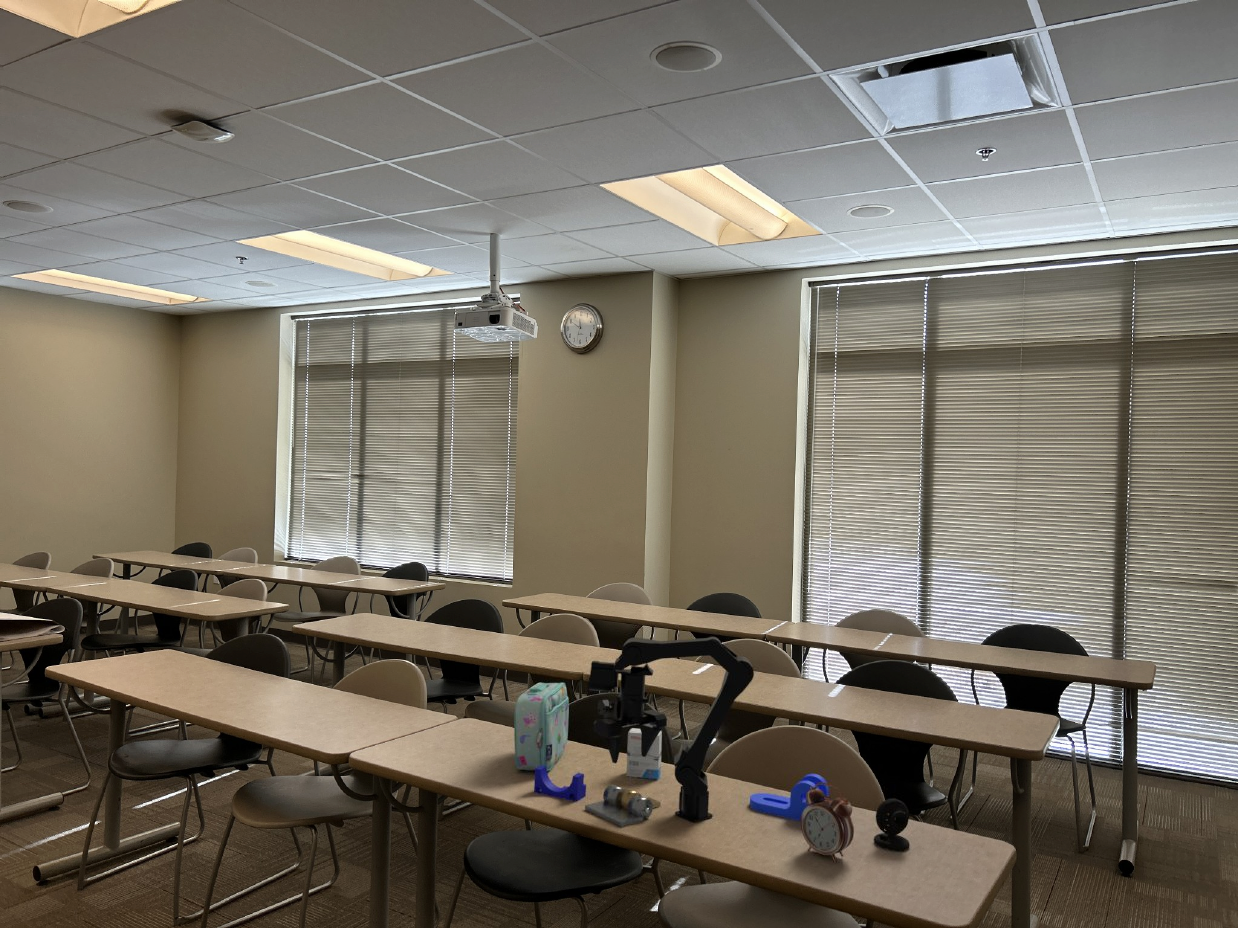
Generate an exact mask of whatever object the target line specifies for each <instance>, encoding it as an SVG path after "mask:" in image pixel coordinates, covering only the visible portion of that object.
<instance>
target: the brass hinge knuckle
mask: <svg viewBox="0 0 1238 928" xmlns="http://www.w3.org/2000/svg"><path fill="white" fill-rule="evenodd" d="M635 795H639V796H641V797H643V796H642V794H641V793H639V792H638V791H635V790H633V789H630V788H628V787H627V788H626V787H625V788H624V787H623V788H622V790H621V791H620V792H619V794H618V797H617V803H618V805H619V806H621V807H623V808H625V809H627V810H628V803H629V801H630V799H631V798H632V797H633V796H635ZM645 798H646V799H648V800H650V801H651V802H652V805H653V809H655V807H656V808H659V806H660V807H661V801H659V800H656V799H655V798H652V797H651V796H649V797H645Z"/></svg>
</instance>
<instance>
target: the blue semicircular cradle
mask: <svg viewBox="0 0 1238 928" xmlns="http://www.w3.org/2000/svg"><path fill="white" fill-rule="evenodd" d="M584 778H585V774H584V773H581V772H577V773H576V774H574V775H572V778H571V782H570V785H569V786H563V787H560V786H557V785H556V784H554V783H553V781H552V780H551V779H550V776H549V774H548V771H547V766H542V765H541V766H539V767H537V768H535V770H534V786H533V788H534V789H533V793H536V794H540V795H545V796H549V797H553V798H554V797H555V798H559V799H562V800H563V799H564V800H568V801H572V802H577V803H578V802H579V801H581V800H582V799H584V798H585V797H586V796H587V784H585V783H584V781H585V780H584Z"/></svg>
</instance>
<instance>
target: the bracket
mask: <svg viewBox="0 0 1238 928" xmlns="http://www.w3.org/2000/svg"><path fill="white" fill-rule="evenodd" d="M817 783H827V784H828V782H827V780H826V779H825V778H824V777H822V776H821V775H819V774H817V773H809V774H806V775H805V776H804V777H803V778H802V779H801V780H800V781H799V782H798V783H796V784H795V785H794V786H793V787H792V789H791V791H790V797H787V796H783V795H778V794H772V793H767V792H759V793H758V792H757V793H753V794H751V795H750V796H749V807H750V806H751V807H752V808H751V807H750V808H751V809H752V810H754V809H755V810H754V811H757V812H760V813H763V812H765V814H769V815H772V814H773V815H772V816H777V817H783V818H787V819H791V820H796V821H800V822H801V816H802V813H803V811H804V810H805V808H806V807H807V806H809V805H810V804H812V803H810V804H806V799H805V796H806V794H807V793H808V791H809V790H811V789H810V786H812V787H813V788H814V787H815V785H816V784H817ZM816 789H820V790H822V791H823V793H824V794H825V796H828V797H830V786H827V785H818V786H817V788H816ZM824 799H825V798H824ZM821 800H823V799H821ZM813 803H814V802H813Z"/></svg>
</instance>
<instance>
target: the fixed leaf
mask: <svg viewBox="0 0 1238 928" xmlns="http://www.w3.org/2000/svg"><path fill="white" fill-rule="evenodd" d="M622 789H623V788H622V787H619V786H617V785H615V784H609V785H607V786H606V787H605V789H604V791H603V795H602V799H603V800H600V801H596V802H594V803H589V804H586V805H584V811H587V812H589V813H591V814H594V815H595V816H597V817H599V818H602V819H604V820H606V821H608V822H610V823H612V824H614V825H616V826H618V827H621V828H623V827H627V826H630V825H634V824H637V823H640V822H643V821H645V820H648V819H649V817H650V816H651V815H652V812H653V809H654V808H653V805H652V802H651V801H650V800H648V799H646V798H647V797H643V796H642V795H641V796H642V797H641V796H639V795H635V796H633V797H632V798H631V799H630V801H629V803H628V810H627V809H625V808H623V807H621V806H619V805H618V803H617V797H618V794H619V792H620V791H621V790H622Z"/></svg>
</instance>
